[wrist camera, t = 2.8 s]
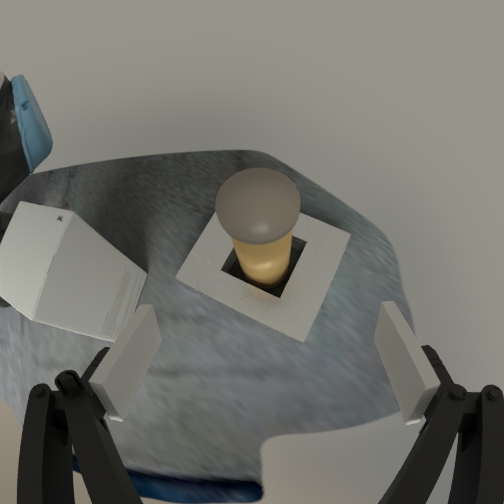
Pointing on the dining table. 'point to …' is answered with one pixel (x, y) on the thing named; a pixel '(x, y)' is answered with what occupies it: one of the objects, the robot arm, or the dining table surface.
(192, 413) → the dining table surface
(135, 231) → the dining table surface
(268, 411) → the dining table surface
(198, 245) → the housing
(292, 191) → the yellow and grey cylinder
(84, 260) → the supplement box
